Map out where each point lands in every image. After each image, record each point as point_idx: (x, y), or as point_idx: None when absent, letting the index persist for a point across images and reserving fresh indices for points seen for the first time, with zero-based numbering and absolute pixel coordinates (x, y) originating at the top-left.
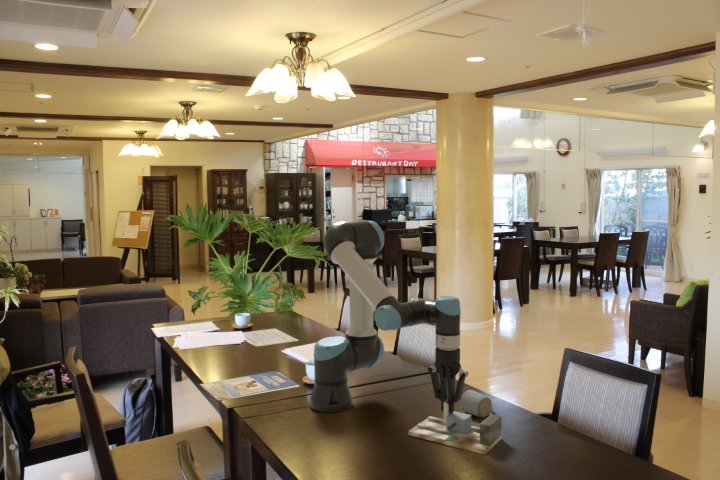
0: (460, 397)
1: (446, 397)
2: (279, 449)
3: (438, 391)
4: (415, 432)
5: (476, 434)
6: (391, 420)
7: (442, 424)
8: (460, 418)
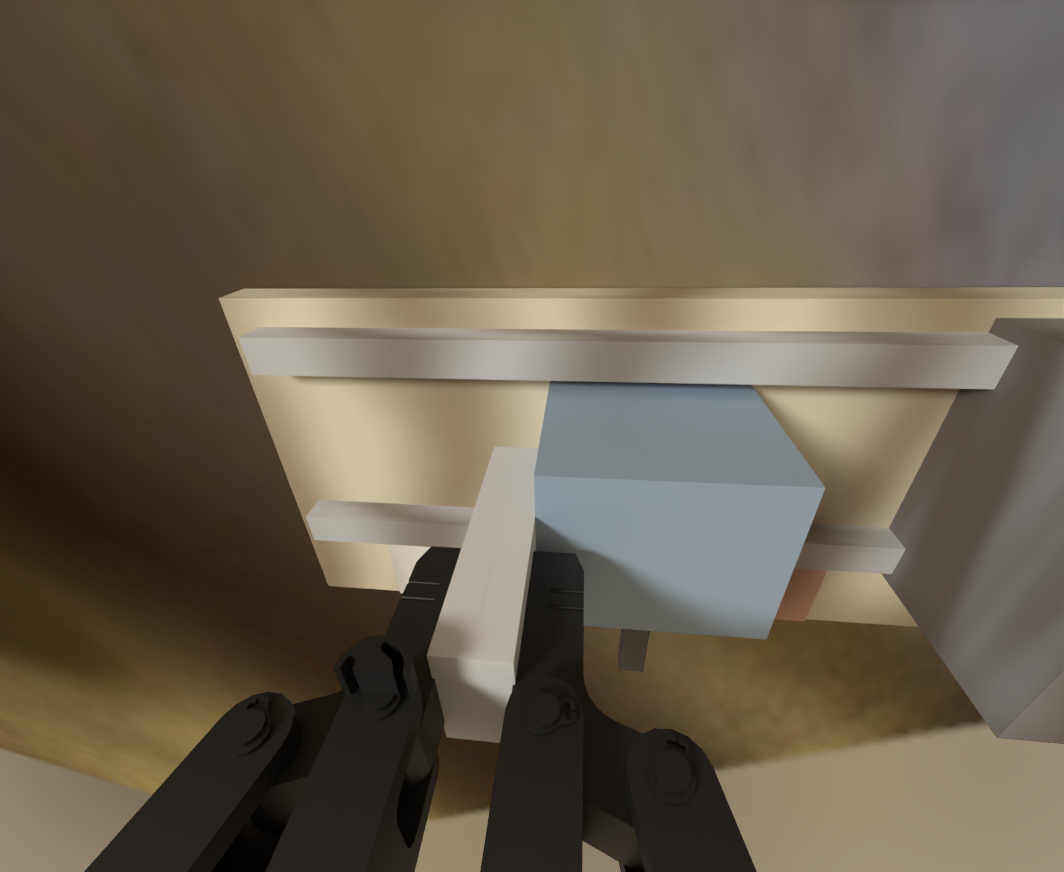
0: (732, 826)
1: (411, 736)
2: (140, 783)
3: (182, 824)
4: (377, 584)
5: (818, 426)
6: (67, 432)
7: (436, 381)
8: (709, 620)
